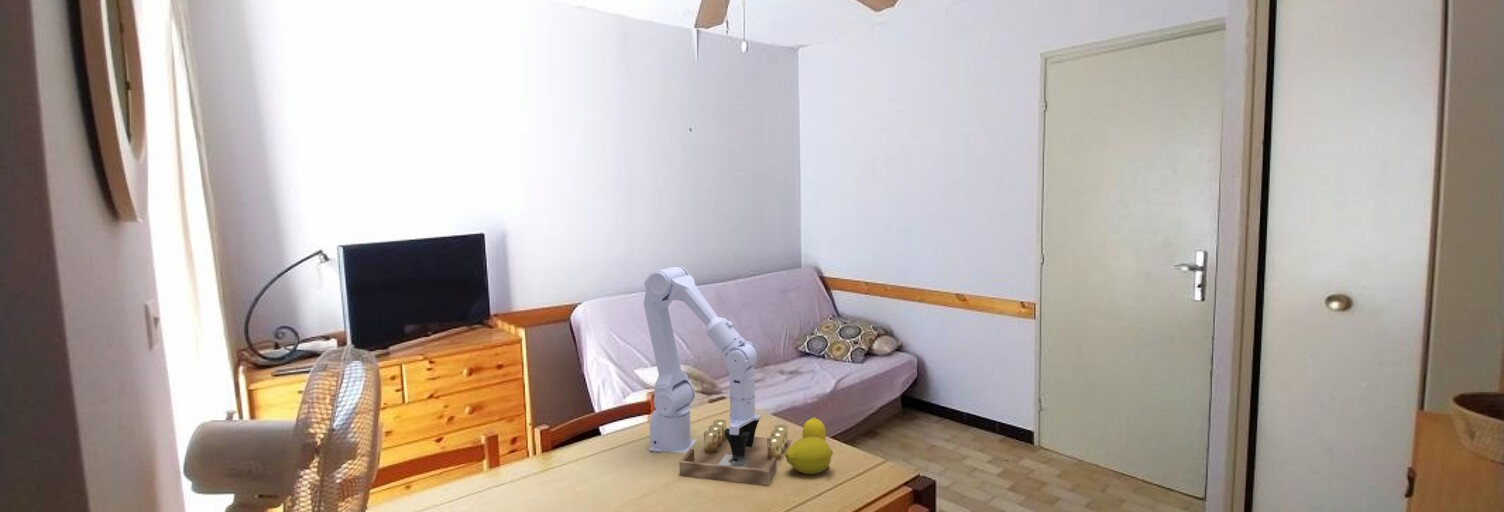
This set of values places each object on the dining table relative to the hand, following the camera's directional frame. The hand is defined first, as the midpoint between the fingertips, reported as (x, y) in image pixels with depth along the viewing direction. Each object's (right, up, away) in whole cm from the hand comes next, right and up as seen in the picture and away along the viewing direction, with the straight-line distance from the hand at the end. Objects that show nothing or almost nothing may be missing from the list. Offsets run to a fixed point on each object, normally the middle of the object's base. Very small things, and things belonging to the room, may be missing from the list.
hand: (743, 453), depth 144 cm
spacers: (+1, 0, +5) cm, 5 cm away
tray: (-1, -2, 0) cm, 2 cm away
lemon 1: (+17, -1, +5) cm, 18 cm away
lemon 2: (+15, -2, -7) cm, 16 cm away
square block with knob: (-2, -2, -7) cm, 7 cm away
